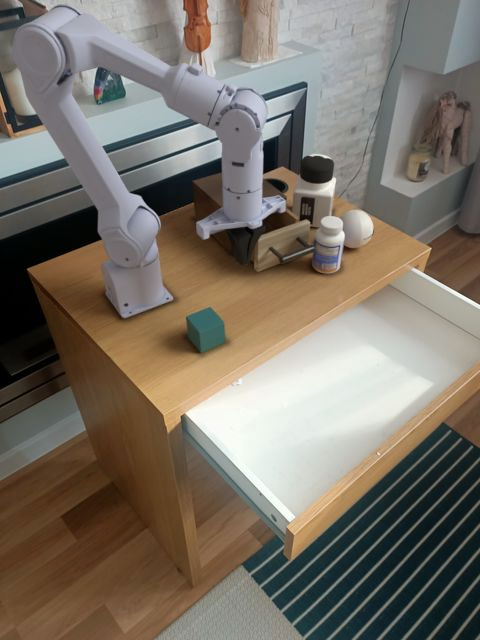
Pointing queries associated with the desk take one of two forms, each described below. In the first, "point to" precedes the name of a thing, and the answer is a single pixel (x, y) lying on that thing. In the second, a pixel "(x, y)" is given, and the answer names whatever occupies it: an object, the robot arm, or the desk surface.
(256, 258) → the drawer
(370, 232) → the white ball
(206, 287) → the desk surface
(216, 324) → the block
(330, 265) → the pill bottle
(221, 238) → the cabinet
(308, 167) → the container
